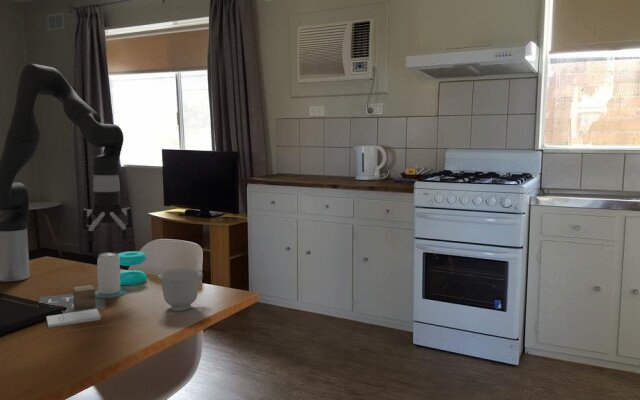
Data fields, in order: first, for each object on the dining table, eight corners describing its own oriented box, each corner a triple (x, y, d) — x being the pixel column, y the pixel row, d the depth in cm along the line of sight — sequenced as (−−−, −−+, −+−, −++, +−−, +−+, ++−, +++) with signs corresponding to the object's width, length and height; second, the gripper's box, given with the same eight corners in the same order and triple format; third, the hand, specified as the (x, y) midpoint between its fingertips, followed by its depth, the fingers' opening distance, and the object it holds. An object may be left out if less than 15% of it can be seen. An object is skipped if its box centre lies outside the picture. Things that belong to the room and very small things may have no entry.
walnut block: (73, 304, 149) (73, 287, 149) (92, 301, 152) (91, 284, 152) (76, 308, 145) (75, 291, 145) (95, 305, 148) (94, 288, 148)
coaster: (92, 291, 163) (92, 289, 163) (126, 288, 167) (126, 286, 167) (92, 300, 154) (92, 298, 154) (127, 296, 158) (127, 294, 158)
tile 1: (40, 297, 156) (40, 297, 156) (80, 293, 161) (80, 293, 161) (36, 308, 146) (36, 307, 146) (79, 303, 150) (79, 303, 150)
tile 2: (64, 302, 152) (64, 301, 152) (105, 298, 156) (104, 297, 156) (62, 313, 142) (62, 313, 142) (105, 309, 146) (105, 308, 146)
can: (124, 289, 164) (123, 252, 162) (114, 295, 157) (113, 256, 156) (104, 288, 164) (103, 251, 163) (94, 294, 158) (92, 256, 156)
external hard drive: (101, 322, 137) (48, 330, 130) (96, 313, 144) (46, 321, 137) (100, 316, 136) (47, 324, 130) (96, 308, 144) (46, 315, 137)
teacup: (217, 303, 152) (217, 269, 151) (182, 317, 139) (181, 281, 138) (186, 297, 158) (186, 265, 157) (149, 310, 145) (148, 275, 144)
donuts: (115, 257, 167) (113, 251, 176) (116, 287, 168) (114, 280, 177) (148, 255, 171) (144, 249, 180) (148, 284, 172) (145, 277, 181)
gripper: (130, 188, 163) (131, 238, 165) (81, 189, 158) (82, 241, 160) (132, 190, 157) (133, 242, 158) (80, 191, 151) (82, 245, 153)
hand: (107, 241), depth 159 cm, fingers open, 8 cm apart
